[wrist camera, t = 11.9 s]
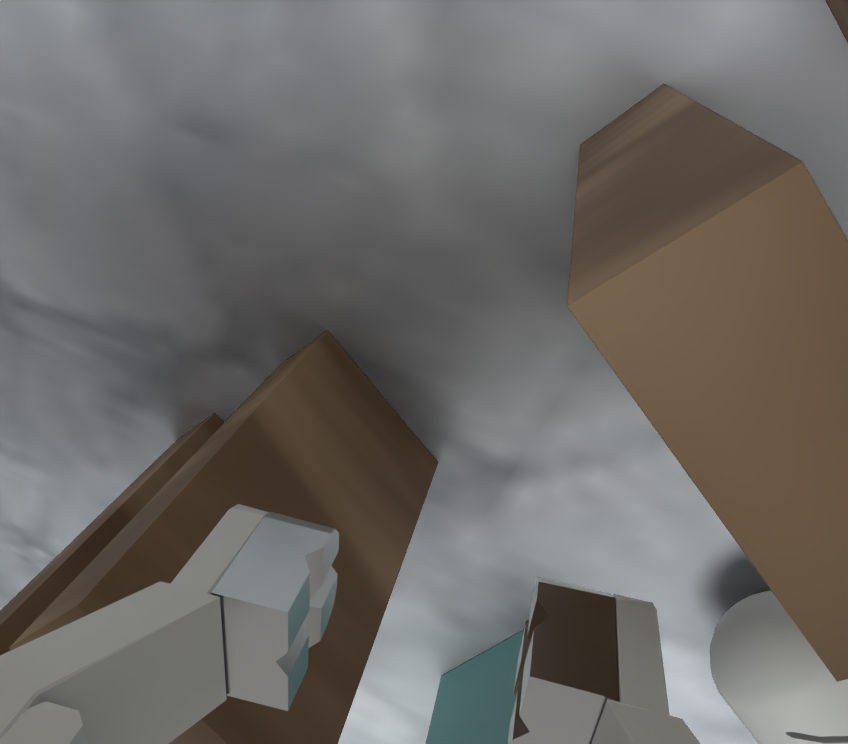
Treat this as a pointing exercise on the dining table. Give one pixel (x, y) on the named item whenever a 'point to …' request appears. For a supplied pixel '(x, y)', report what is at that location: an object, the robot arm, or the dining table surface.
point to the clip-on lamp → (776, 676)
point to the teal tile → (477, 698)
